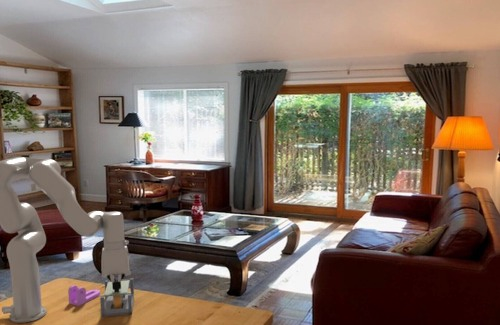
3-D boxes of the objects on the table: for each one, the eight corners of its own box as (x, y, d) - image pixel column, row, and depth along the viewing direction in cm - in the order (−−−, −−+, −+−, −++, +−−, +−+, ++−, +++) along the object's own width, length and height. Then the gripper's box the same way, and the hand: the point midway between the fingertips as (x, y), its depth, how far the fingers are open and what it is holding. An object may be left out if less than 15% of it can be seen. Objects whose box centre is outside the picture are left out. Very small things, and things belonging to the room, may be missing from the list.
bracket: (79, 306, 176) (78, 289, 176) (69, 303, 179) (68, 287, 178) (102, 293, 188) (102, 278, 187) (93, 291, 190) (92, 276, 190)
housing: (101, 317, 167) (100, 295, 166) (105, 300, 181) (104, 280, 180) (131, 313, 169) (131, 292, 168) (134, 297, 184) (133, 278, 182)
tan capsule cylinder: (113, 310, 169) (112, 296, 169) (114, 307, 172) (113, 293, 172) (121, 309, 170) (120, 296, 169) (122, 306, 173) (121, 293, 172)
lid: (100, 297, 166) (100, 294, 166) (104, 283, 180) (104, 280, 180) (131, 294, 168) (130, 292, 168) (133, 280, 183) (133, 278, 183)
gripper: (135, 240, 173) (137, 285, 175) (95, 243, 170) (97, 289, 172) (134, 246, 165) (136, 293, 168) (92, 249, 162) (95, 297, 165)
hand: (117, 290), depth 170 cm, fingers closed
